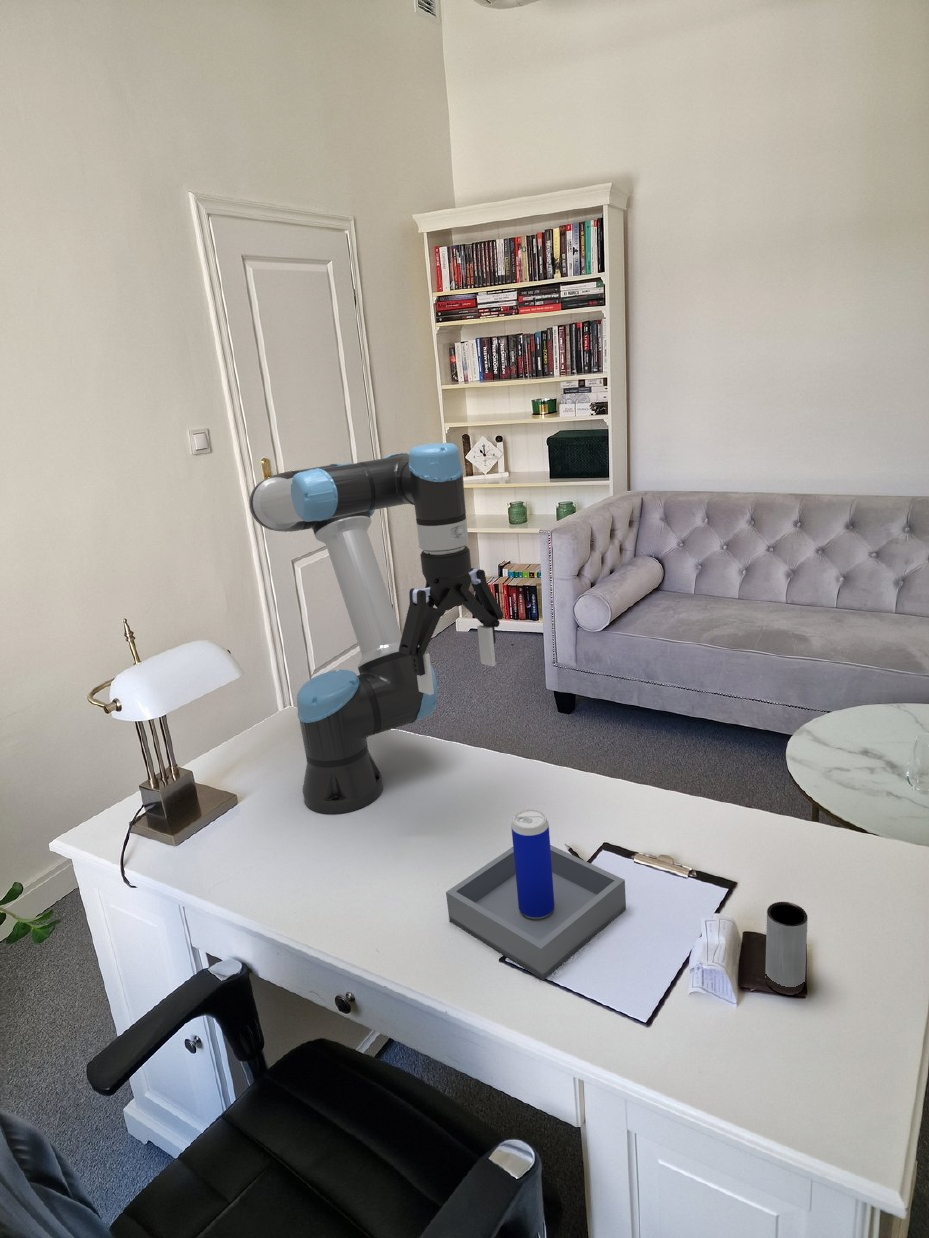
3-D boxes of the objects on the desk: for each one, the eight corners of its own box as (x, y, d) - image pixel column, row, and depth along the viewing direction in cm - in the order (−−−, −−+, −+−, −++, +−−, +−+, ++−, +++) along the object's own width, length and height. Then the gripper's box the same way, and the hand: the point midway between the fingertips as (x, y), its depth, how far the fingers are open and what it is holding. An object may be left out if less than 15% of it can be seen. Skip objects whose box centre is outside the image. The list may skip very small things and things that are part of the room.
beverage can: (557, 899, 118) (551, 809, 113) (551, 922, 113) (544, 830, 108) (522, 895, 119) (515, 807, 114) (515, 919, 114) (507, 827, 110)
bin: (449, 920, 117) (445, 891, 115) (532, 862, 128) (529, 834, 127) (543, 980, 104) (541, 948, 103) (626, 909, 116) (624, 879, 114)
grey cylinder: (758, 984, 100) (760, 915, 97) (775, 963, 103) (777, 896, 100) (794, 1002, 97) (797, 931, 94) (811, 980, 100) (814, 911, 97)
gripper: (396, 571, 111) (414, 711, 118) (518, 532, 127) (528, 658, 134) (363, 565, 117) (382, 699, 123) (484, 528, 133) (495, 649, 139)
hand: (458, 678), depth 129 cm, fingers open, 13 cm apart
